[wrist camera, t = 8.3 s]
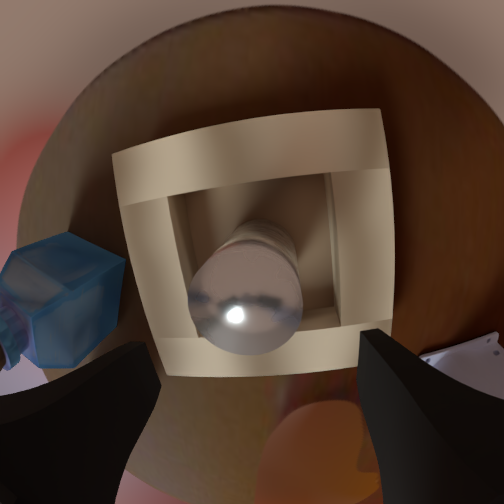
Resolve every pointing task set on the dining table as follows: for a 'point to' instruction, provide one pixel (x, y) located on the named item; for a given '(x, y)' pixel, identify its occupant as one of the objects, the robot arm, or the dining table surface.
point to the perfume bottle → (57, 301)
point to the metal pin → (249, 291)
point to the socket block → (270, 208)
